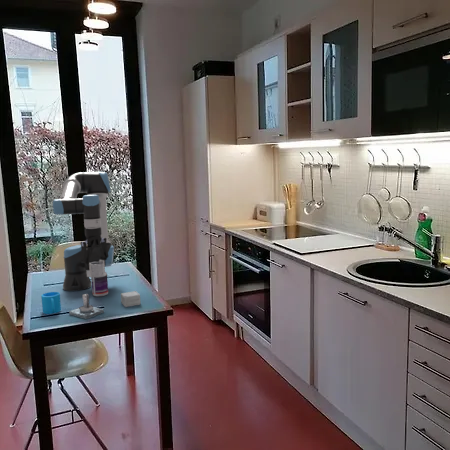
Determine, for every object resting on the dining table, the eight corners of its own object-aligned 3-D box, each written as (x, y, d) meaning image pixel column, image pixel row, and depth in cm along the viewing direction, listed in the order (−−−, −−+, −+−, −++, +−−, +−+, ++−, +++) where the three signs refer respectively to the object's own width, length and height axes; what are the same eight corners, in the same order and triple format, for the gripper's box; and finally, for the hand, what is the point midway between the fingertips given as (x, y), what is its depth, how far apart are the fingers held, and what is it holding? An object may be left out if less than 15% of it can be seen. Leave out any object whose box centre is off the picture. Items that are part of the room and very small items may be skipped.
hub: (85, 276, 216) (84, 264, 215) (97, 273, 222) (96, 261, 221) (95, 278, 212) (94, 265, 211) (107, 274, 218) (106, 262, 217)
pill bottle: (111, 293, 239) (109, 267, 237) (100, 297, 232) (99, 270, 230) (100, 291, 243) (98, 265, 241) (89, 296, 236) (87, 269, 234)
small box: (136, 300, 227) (136, 290, 226) (140, 304, 220) (140, 294, 219) (121, 303, 224) (120, 293, 223) (124, 307, 217) (124, 297, 216)
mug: (41, 310, 216) (40, 293, 214) (59, 307, 219) (58, 290, 218) (44, 317, 205) (43, 300, 204) (63, 314, 209) (62, 297, 208)
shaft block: (69, 314, 208) (67, 295, 207) (87, 308, 216) (85, 290, 215) (86, 319, 201) (84, 299, 200) (104, 312, 209) (102, 293, 208)
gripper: (80, 230, 203) (84, 280, 206) (114, 225, 220) (117, 271, 223) (69, 230, 208) (73, 278, 211) (104, 224, 224) (107, 269, 227)
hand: (96, 274), depth 217 cm, fingers closed on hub, 7 cm apart
